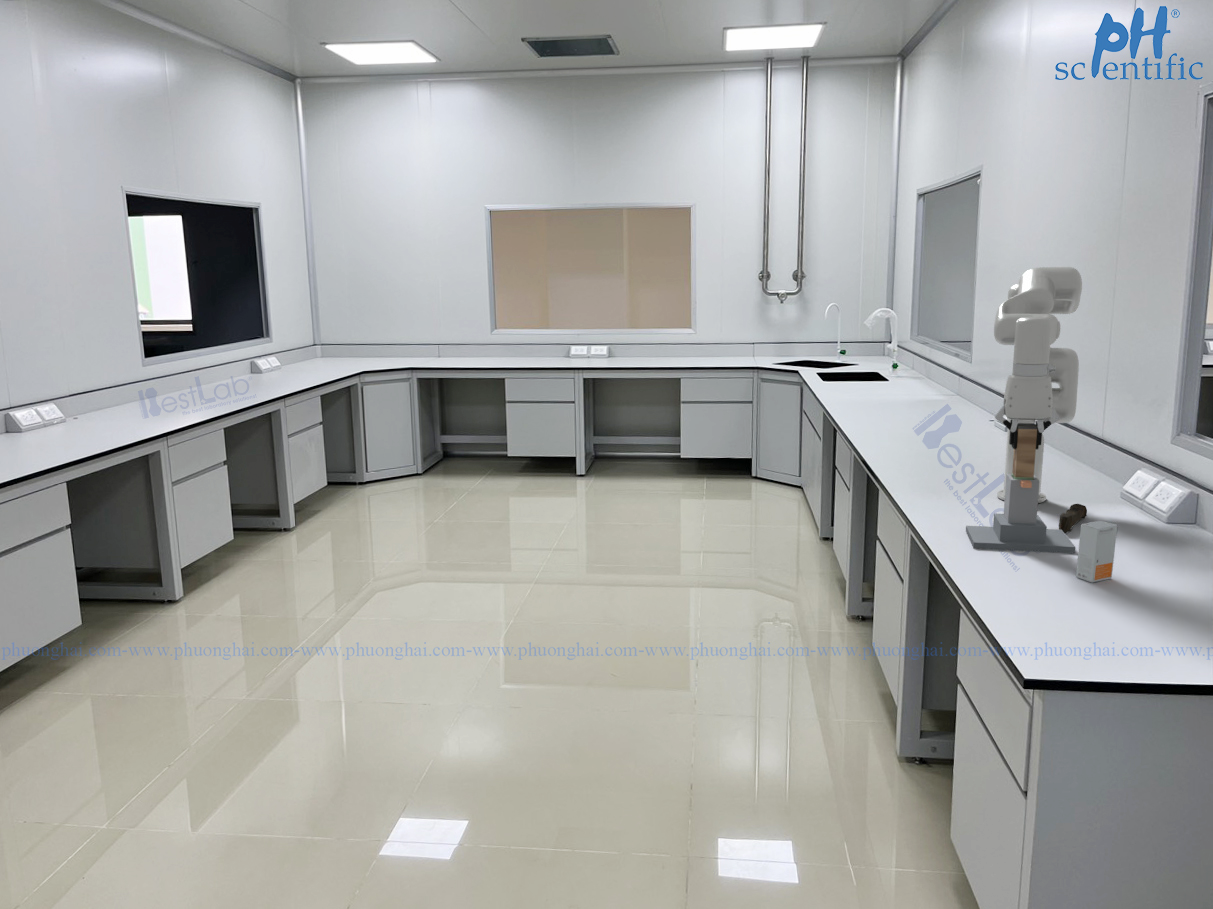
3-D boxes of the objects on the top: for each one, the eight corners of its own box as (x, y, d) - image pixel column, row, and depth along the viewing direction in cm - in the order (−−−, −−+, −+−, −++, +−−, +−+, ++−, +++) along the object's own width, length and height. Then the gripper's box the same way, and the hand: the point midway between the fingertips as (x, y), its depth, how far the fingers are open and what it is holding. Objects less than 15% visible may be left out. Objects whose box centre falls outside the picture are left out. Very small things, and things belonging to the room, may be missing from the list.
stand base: (965, 531, 231) (969, 469, 228) (1061, 535, 226) (1066, 472, 223) (973, 548, 218) (977, 482, 215) (1074, 553, 213) (1080, 486, 209)
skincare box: (1092, 583, 193) (1097, 528, 191) (1075, 577, 197) (1079, 523, 195) (1113, 578, 196) (1118, 524, 193) (1095, 573, 200) (1100, 519, 197)
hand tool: (1070, 516, 242) (1071, 499, 241) (1086, 519, 240) (1088, 502, 239) (1048, 534, 228) (1049, 516, 227) (1066, 537, 226) (1067, 518, 225)
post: (1010, 491, 222) (1015, 422, 218) (1029, 491, 221) (1034, 422, 217) (1013, 495, 218) (1018, 425, 214) (1032, 496, 217) (1037, 426, 213)
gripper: (1065, 368, 215) (1059, 445, 219) (989, 368, 219) (984, 444, 223) (1073, 372, 208) (1067, 452, 212) (994, 372, 212) (989, 450, 216)
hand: (1024, 447), depth 217 cm, fingers closed on post, 4 cm apart
